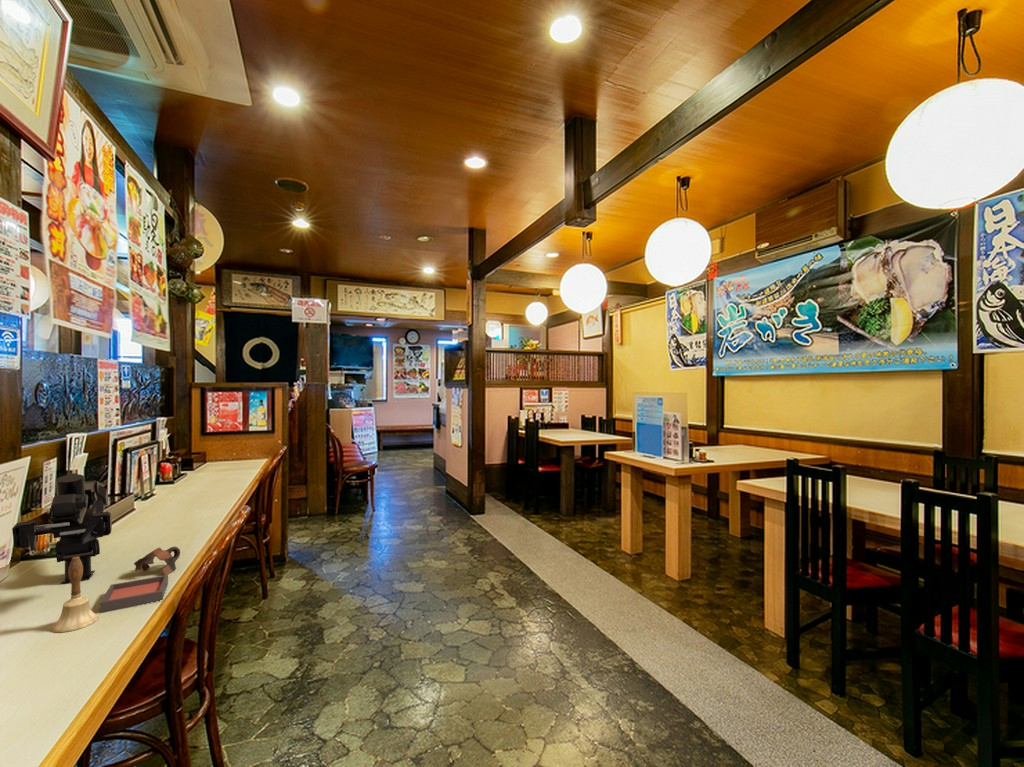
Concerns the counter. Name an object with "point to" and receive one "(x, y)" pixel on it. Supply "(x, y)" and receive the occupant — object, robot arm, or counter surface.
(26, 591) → the counter surface
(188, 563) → the counter surface
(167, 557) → the brown curved piece
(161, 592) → the tray
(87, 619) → the hand bell
